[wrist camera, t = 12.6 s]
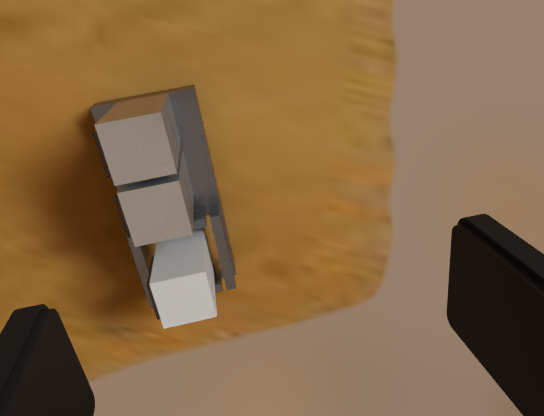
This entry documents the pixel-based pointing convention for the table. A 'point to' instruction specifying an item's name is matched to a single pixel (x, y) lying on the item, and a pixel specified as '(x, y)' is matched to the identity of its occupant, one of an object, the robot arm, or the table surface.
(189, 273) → the pale grey block
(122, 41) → the table surface
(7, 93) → the table surface
